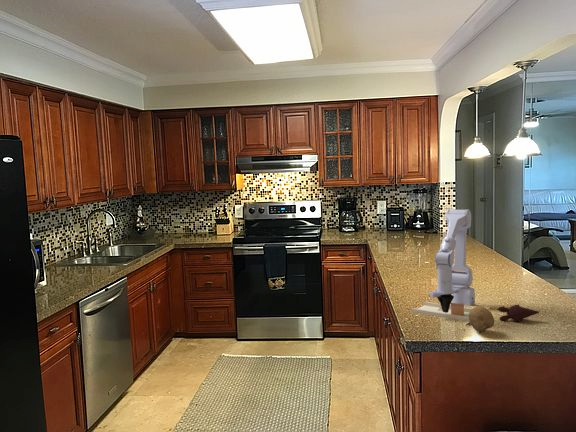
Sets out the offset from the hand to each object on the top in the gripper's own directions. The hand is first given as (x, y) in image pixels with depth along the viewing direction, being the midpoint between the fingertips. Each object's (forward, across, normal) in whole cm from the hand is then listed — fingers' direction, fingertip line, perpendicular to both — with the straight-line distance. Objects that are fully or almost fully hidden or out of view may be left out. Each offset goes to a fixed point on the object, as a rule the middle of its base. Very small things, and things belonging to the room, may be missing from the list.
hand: (445, 312), depth 202 cm
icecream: (+3, -22, +18) cm, 28 cm away
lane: (+3, -2, -1) cm, 4 cm away
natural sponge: (+3, 0, +20) cm, 20 cm away
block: (+1, -3, +3) cm, 5 cm away
